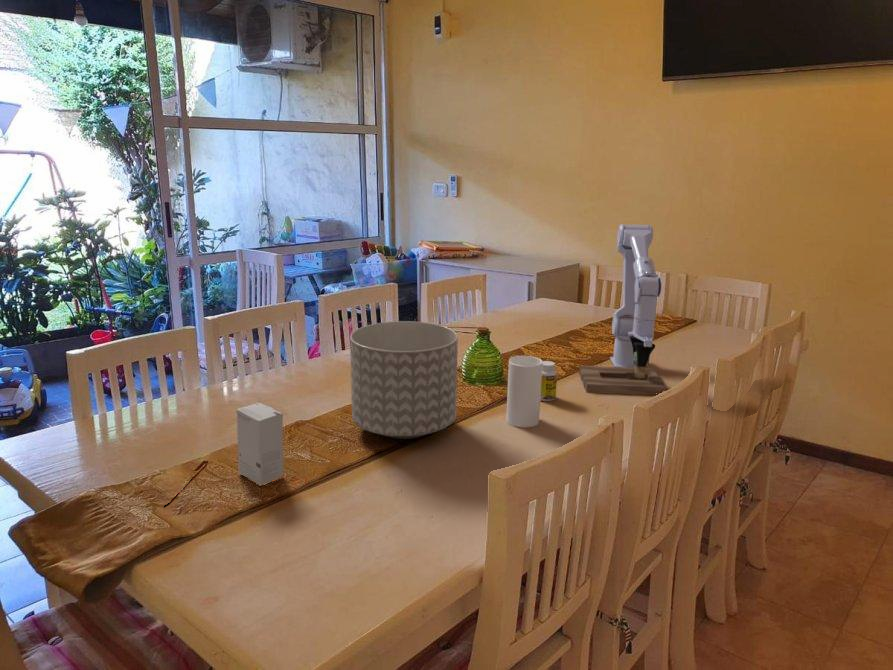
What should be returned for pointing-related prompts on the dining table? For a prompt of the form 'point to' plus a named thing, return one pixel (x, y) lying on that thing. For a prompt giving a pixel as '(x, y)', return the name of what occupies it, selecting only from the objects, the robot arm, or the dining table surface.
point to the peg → (639, 368)
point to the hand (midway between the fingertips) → (639, 363)
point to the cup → (524, 391)
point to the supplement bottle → (548, 381)
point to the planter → (403, 378)
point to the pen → (200, 466)
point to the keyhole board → (620, 380)
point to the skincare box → (260, 443)
